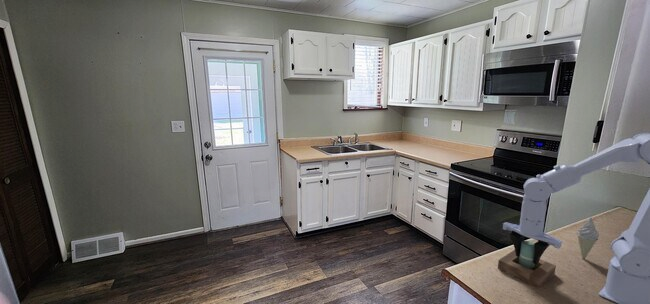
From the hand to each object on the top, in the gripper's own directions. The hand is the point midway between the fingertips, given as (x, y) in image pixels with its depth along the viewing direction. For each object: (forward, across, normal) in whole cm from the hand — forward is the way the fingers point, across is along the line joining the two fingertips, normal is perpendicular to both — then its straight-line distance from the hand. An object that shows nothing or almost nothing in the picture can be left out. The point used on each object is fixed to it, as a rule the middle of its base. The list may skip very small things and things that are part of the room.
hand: (527, 258), depth 83 cm
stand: (+4, 0, 0) cm, 4 cm away
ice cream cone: (+4, -8, -23) cm, 25 cm away
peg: (+2, 0, 0) cm, 2 cm away
